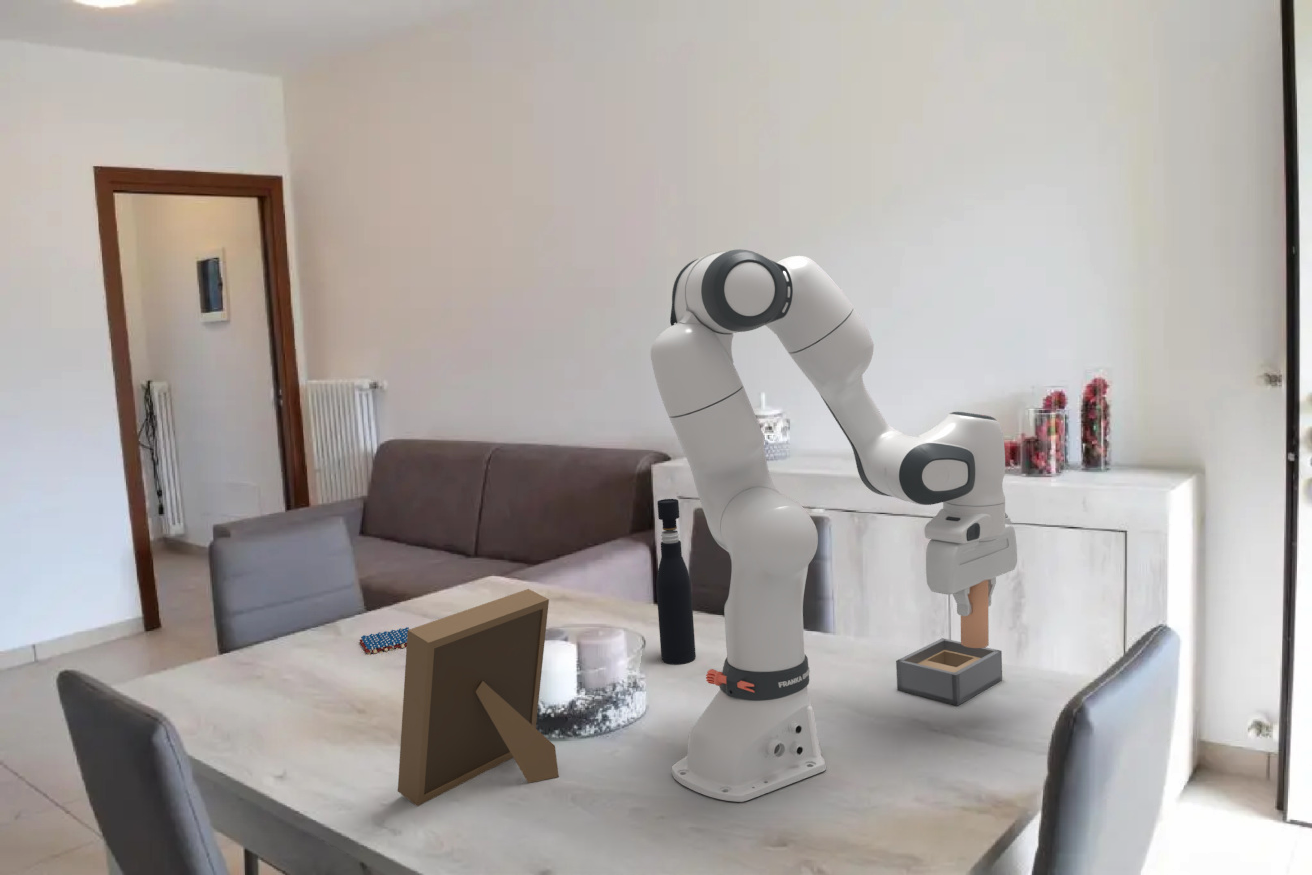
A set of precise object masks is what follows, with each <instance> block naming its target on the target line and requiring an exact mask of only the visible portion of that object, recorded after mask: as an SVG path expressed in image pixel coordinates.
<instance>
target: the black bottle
mask: <svg viewBox="0 0 1312 875" xmlns="http://www.w3.org/2000/svg"><path fill="white" fill-rule="evenodd" d="M656 505H657V514H658V515H657V516H658V520H661V522H662V530H663V531H661V535H660V536H661V542H660V554H661V557H660V560H659V565H658V569H657V575H656V582H655V585H656V588H655V589H656V599H657V600H656V601H657V615H658V629H659V630H658V631H659V643H660V644H659V645H660V656H661V661H662V662H663V663H666V664H667V665H669V664H670V665H683V664H684V665H685V664H689V663H691V662H693V661H694V660H695V659H696V656H697V654H696V641H695V639H696V638H695V628H694V627H695V625H694V624H695V622H694V611H693V610H694V609H693V599H692V598H693V597H692V595H693V594H692V584H691V583H692V581H691V577H690V573H689V570H688V567H687V565H686V562H685V560H684V558H683V555H682V553H683V552H682V542H681V540H680V533H679V530H677V529H678V527H677V520H678V519H679V518H680V503H679V499H677V498H665V499H660V500H657V504H656Z"/></svg>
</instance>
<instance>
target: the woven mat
mask: <svg viewBox="0 0 1312 875" xmlns="http://www.w3.org/2000/svg"><path fill="white" fill-rule="evenodd" d="M409 629H410V627H405V628H404V627H402V628H399V629H398V628H397V629H396V630H394V629H391V630H388V631H387V630H386V631H384V632H383V631H381V632H380V631H379V632H377V633H375V634H374V633H370V634H367V635H365V634H364V635H362V636H360V638H361V639H359V640H358V641H359V645H360V646H361V647H362V648H363V651H364V652H365V653H366V654H367V655H368V656H371V655H372V654H374V655H375V654H378V653H380V654H383V651H384V652H388V651H394V649H396V650H400V649H405V648H407V633H408V630H409Z"/></svg>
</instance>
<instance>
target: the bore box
mask: <svg viewBox="0 0 1312 875" xmlns="http://www.w3.org/2000/svg"><path fill="white" fill-rule="evenodd" d="M1002 652H1003V651H1002V650H1000V649H995V648H991V647H990V648H989V647H984V648H969V647H965V646H963V645H961V641H957V640H953V639H948V638H942V637H941V638H939V639H938V640H935V641H934V642H931V643H930V644H927V645H925V646H923V647H922V648H919V649H917V650H915V651H914V652H911V653H909V654H907V655H905V656H902V657H901V658H899V659H897V660H896V661H895V664H896V666H895V668H896V669H895V670H896V686H897V687H896V688H897V691H899V692H902V693H907V694H911V695H915V696H918V697H922V698H926V699H930V700H934V701H938V702H941V703H944V704H948V705H952V706H956V707H958V706H960V705H961V704H963V703H965V702H967V701H968V700H970V699H972V698H974V697H975V696H977V695H979V694H980V693H982V692H984V691H986V690H988V689H990V688H991V687H992V686H994V685H996V684H998V683H999V682H1001V681H1002V680H1003V660H1002V659H1003V658H1002V654H1003V653H1002Z"/></svg>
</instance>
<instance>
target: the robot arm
mask: <svg viewBox="0 0 1312 875" xmlns="http://www.w3.org/2000/svg"><path fill="white" fill-rule="evenodd" d="M669 319H670V320H669V321H670V326H669V327H667V328H666V329H664V330H663V331H661V333H660V334H659V335H658V336H657V337H656V338H655V340H653V343H652V345H651V348H650V360H651V366H652V368H653V369H652V370H653V374H654V378H655V381H656V385H657V388H658V392H659V395H660V397H661V399H662V400H661V401H662V403H663V406H664V408H665V411H666V414H667V415H668V418H669V420H670V423H671V426H672V427H673V429H674V431H675V432H674V433H675V434H676V437H677V440H678V441H679V444H680V446H681V449H682V451H683V454H684V455H685V458H686V461H687V463H688V466H689V468H690V471H691V475H692V476H693V477H692V478H693V480H694V484H695V489H696V492H697V495H698V499H699V502H700V505H701V507H702V511H703V514H704V517H705V520H706V523H707V526H708V529H709V531H710V533H711V535H712V538H713V539H714V541H715V542H716V543H717V545H719V547H721V548H722V549H723V550H725V551H726V552H727V553H728V554H729V556H730V561H731V576H730V583H729V584H730V585H729V591H728V596H727V599H726V601H725V603H724V607H723V608H724V609H723V610H724V611H723V612H724V614H723V615H724V629H725V641H726V642H725V643H726V646H725V647H726V658H725V659H724V663H723V667H722V671H717V670H716V669H713V668H710V669H709V670H707V673H706V675H705V676H706V677H705V679H706V682H707V683H708V684H709V685H710V684H711V685H715V686H718V687H719V690H718V692H717V693H716V694H715V696H714V697H713V699H711V702H710V703H709V704H708V705H707V707H706V709H705V710H704V711H703V712H702V714H701V715H700V716H699V717H698V719H697V721H696V722H695V723H694V724H693V725H692V727H691V728H690V731H689V735H688V739H687V754H686V755H685V756H684V757H682V759H680V760H678V761H677V762H675V763H674V764H673V765H672V766H671V775H672V777H673V779H675V780H676V781H677V782H678V783H679V784H681V785H682V786H684V787H686V788H688V789H689V790H691V791H694V792H696V793H698V794H702V795H704V796H707V797H709V798H712V799H717V800H721V801H728V802H739V803H743V802H746V801H750V800H752V799H756V798H758V797H760V796H762V795H765V794H767V793H771V792H774V791H776V790H778V789H781V788H784V787H786V786H789V785H791V784H794V783H796V782H799V781H803V780H804V779H806V778H810V777H813V776H815V775H817V774H820V773H822V772H824V771H825V770H827V769H826V768H827V767H826V761H825V759H824V757H823V756H822V748H821V745H820V743H819V738H818V737H819V736H818V731H817V724H816V718H815V712H814V708H813V705H812V700H811V699H810V695H809V690H808V689H809V688H808V686H809V683H810V667H809V658H808V655H806V654H805V634H804V632H805V631H804V616H803V614H804V607H803V606H804V595H805V588H806V581H807V577H808V576H807V575H808V569H809V564H810V563H811V562H812V560H813V558H814V557H815V555H816V552H817V549H818V543H819V536H818V535H819V534H818V529H817V527H816V525H815V522H814V520H813V518H811V516H810V514H809V513H808V512H807V511H806V509H805V508H804V507H803V506H802V505H801V504H800V503H799V501H797V500H795V499H793V498H792V497H790V496H788V495H786V494H783V493H781V492H780V491H779V490H778V489H777V487H776V486H775V484H774V482H773V480H772V478H771V474H770V470H769V466H768V462H767V457H766V452H765V451H766V450H765V436H764V432H763V430H762V428H761V426H760V425H761V424H760V423H759V421H758V418H757V416H756V413H755V411H754V409H753V406H752V404H751V401H750V399H749V396H748V394H747V392H746V389H745V387H744V384H743V382H742V379H741V377H740V374H739V372H738V371H737V368H736V366H735V365H734V358H733V354H732V342H733V338H734V334H736V333H743V332H744V333H745V332H750V331H753V330H757V329H759V328H762V327H764V326H766V327H767V328H768V329H769V330H770V331H772V333H773V334H774V335H776V336H777V338H778V339H779V341H780V343H781V344H782V346H783V347H784V348H785V350H786V352H787V353H788V356H790V357H791V359H792V360H793V361H794V363H795V365H797V366H798V368H799V369H800V370H801V372H802V373H803V375H804V376H805V377H806V378H807V379H808V380H809V382H811V384H812V385H813V387H814V388H815V390H816V391H817V392H818V394H819V395H820V397H821V399H822V400H823V402H824V403H825V405H826V407H827V409H828V410H829V411H830V413H831V415H832V417H833V419H834V420H835V421H836V423H837V425H838V426H839V428H840V429H841V431H842V433H843V434H844V436H845V438H846V439H847V440H848V442H849V444H850V446H851V448H852V451H853V455H854V459H855V464H856V469H857V472H858V476H859V478H860V480H861V481H862V483H863V484H864V485H865V487H866V488H868V490H870V491H871V492H873V493H875V494H877V495H880V496H885V497H892V498H896V499H899V500H901V501H904V502H909V503H912V504H915V505H921V506H931V505H936V504H940V503H942V508H941V509H940V510H938V512H937V514H936V515H935V516H934V517H933V518H931V520H929V521H928V522H927V523H926V524H925V526H924V538H926V539H928V540H929V541H928V543H927V545H926V551H925V571H926V572H925V573H926V585H927V586H928V588H929V590H930V592H933V593H937V594H941V595H947V596H948V595H949V596H951V595H952V597H953V598H954V600H955V603H956V613H957V614H958V615H959V616H960V617H961V616H968V615H970V614H972V613H973V610H972V608H973V603H970V602H969V599H968V595H967V594H969V593H970V587H972V586H974V585H977V584H979V583H981V582H983V581H986V580H988V608H989V607H991V605H992V595H993V593H994V590H995V586H996V585H997V584H996V583H997V577H999V576H1003V575H1004V574H1007V573H1010V572H1013V571H1015V569H1016V567H1017V565H1018V549H1017V548H1018V547H1017V546H1018V545H1017V536H1016V531H1015V528H1014V526H1013V525H1012V524H1011V517H1009V516H1008V514H1007V513H1006V496H1005V494H1004V490H1003V482H1004V478H1005V474H1006V450H1005V449H1006V448H1005V440H1004V438H1005V437H1004V433H1003V429H1002V426H1001V424H1000V422H999V421H998V420H997V419H996V418H995V417H993V416H990V415H987V414H977V413H973V412H972V413H971V412H964V411H952V412H949V413H948V414H947V415H946V417H945V418H944V419H943V420H942V421H941V422H940V423H938V424H937V425H936V426H933V428H930V429H929V430H928V431H926V432H923V433H921V434H919V435H918V434H917V436H913V435H910V434H909V435H908V434H905V433H903V432H901V431H900V430H897V429H896V428H894V427H893V426H892V425H890V424H889V423H888V422H887V421H886V419H885V418H884V416H883V414H882V413H881V411H880V409H879V407H878V406H877V404H876V403H875V401H874V400H873V398H872V396H871V395H870V393H869V391H868V390H867V388H866V386H865V383H864V381H863V374H864V373H865V372H866V370H867V369H868V368H869V366H870V364H871V362H872V358H873V355H874V345H875V344H874V341H873V340H872V336H871V334H870V332H869V330H868V327H867V326H866V323H865V321H864V320H863V318H862V317H861V315H860V313H859V312H858V311H857V309H856V308H855V306H854V305H853V303H852V302H851V301H850V299H849V298H848V297H847V295H846V294H845V292H844V291H843V290H842V289H841V287H839V286H838V284H837V283H836V282H835V281H834V280H833V279H832V278H831V276H829V274H828V273H827V272H826V271H825V270H824V269H823V268H822V267H821V266H819V264H818V263H817V262H815V261H814V260H813V259H812V258H811V257H808V256H805V255H792V256H787V257H785V258H783V259H780V260H779V261H777V262H776V261H774V260H773V259H769V258H768V257H766V256H764V255H763V254H760V253H758V252H755V251H752V250H747V249H732V250H728V251H725V250H724V251H723V250H720V251H715V252H711V253H708V254H706V255H703V256H701V257H699V258H696V259H693V260H692V261H690V262H688V263H687V264H686V265H685V266H684V267H683V268H682V269H681V270H680V271H679V273H678V274H677V275H676V278H675V280H674V283H673V287H672V293H671V309H670V318H669Z"/></svg>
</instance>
